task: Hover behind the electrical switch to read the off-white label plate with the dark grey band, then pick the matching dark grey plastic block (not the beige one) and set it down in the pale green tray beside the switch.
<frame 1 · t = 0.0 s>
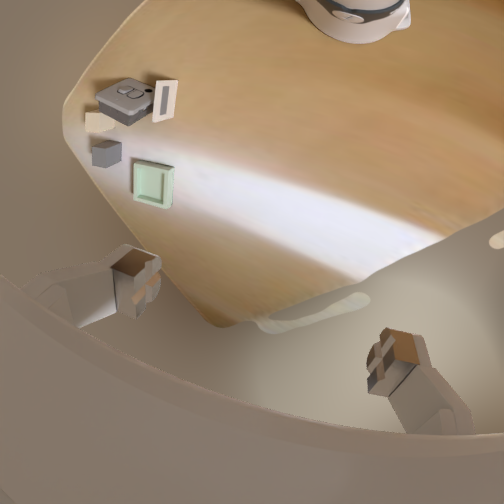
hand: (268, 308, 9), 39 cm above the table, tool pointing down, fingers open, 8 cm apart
grey part: (114, 150, 52), on the table
tray: (155, 182, 53), on the table
beige part: (108, 117, 48), on the table
label plate: (174, 98, 43), on the table
electrical switch: (144, 97, 44), on the table
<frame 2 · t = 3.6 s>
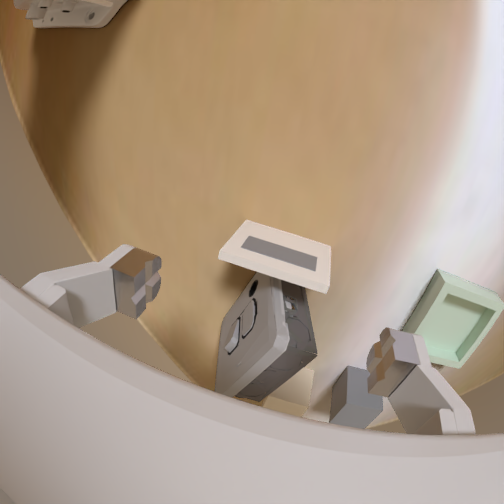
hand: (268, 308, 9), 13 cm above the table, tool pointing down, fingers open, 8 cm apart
grey part: (356, 380, 27), on the table
tray: (448, 317, 21), on the table
beige part: (291, 375, 29), on the table
label plate: (287, 236, 23), on the table
electrical switch: (271, 301, 26), on the table
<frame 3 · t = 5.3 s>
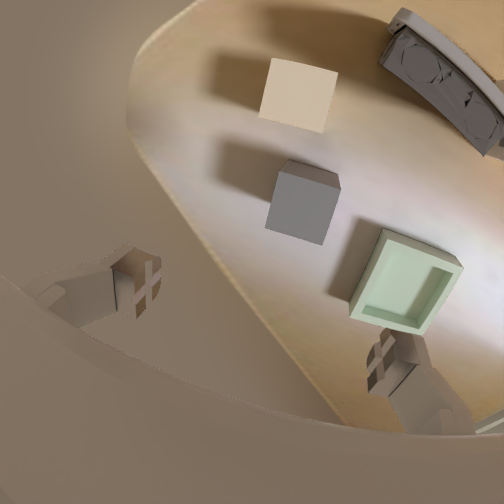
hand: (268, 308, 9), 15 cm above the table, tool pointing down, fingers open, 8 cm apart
grey part: (306, 190, 22), on the table
tray: (403, 280, 23), on the table
beige part: (304, 99, 19), on the table
label plate: (491, 117, 15), on the table
electrical switch: (425, 84, 16), on the table
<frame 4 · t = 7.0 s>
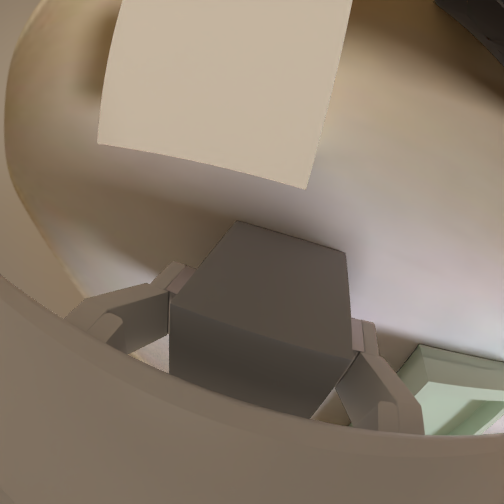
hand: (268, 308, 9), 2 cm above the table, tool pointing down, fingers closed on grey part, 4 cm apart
grey part: (277, 282, 11), on the table, touching gripper
tray: (433, 403, 12), on the table
beige part: (267, 79, 8), on the table
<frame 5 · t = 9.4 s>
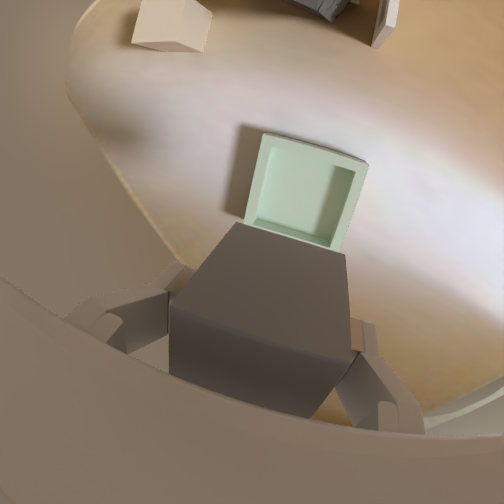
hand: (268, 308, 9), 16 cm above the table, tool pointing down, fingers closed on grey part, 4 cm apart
grey part: (276, 284, 11), point 14 cm above the table, touching gripper
tray: (304, 191, 23), on the table
beige part: (187, 32, 19), on the table
label plate: (381, 14, 14), on the table
when the fingers open (4 cm above the table, at t = 11.7 s): grey part drops 2 cm, resting on tray.
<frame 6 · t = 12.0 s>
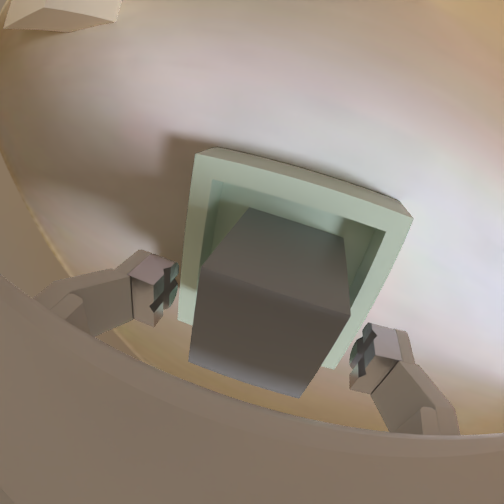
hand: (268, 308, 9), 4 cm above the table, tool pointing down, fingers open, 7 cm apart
grey part: (283, 263, 12), point 1 cm above the table, touching tray
tray: (285, 254, 13), on the table
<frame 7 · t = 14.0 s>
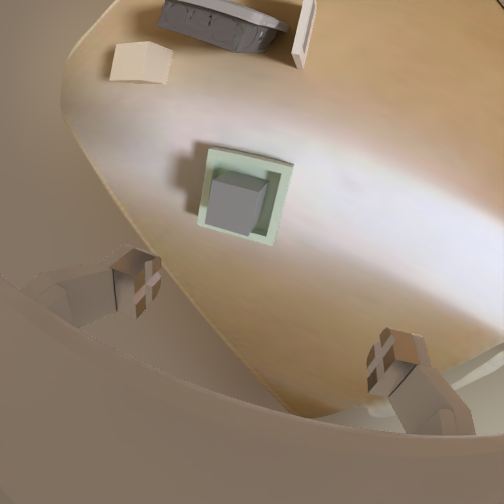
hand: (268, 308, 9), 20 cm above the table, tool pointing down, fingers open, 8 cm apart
grey part: (244, 194, 28), point 1 cm above the table, touching tray
tray: (246, 192, 29), on the table
beige part: (154, 67, 25), on the table
label plate: (307, 38, 21), on the table
electrical switch: (240, 31, 22), on the table
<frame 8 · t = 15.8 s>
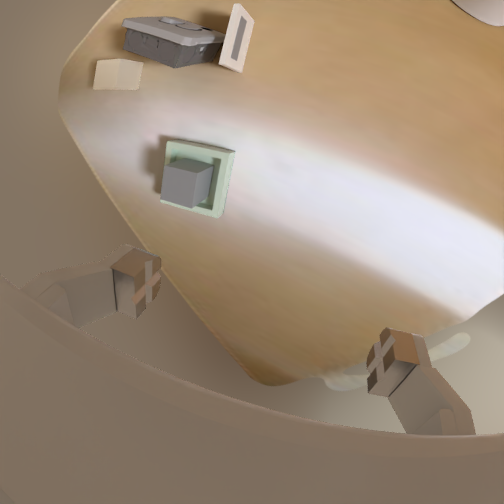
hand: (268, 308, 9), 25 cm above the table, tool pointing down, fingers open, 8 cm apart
grey part: (196, 176, 34), point 1 cm above the table, touching tray
tray: (199, 175, 35), on the table
beige part: (129, 76, 30), on the table
label plate: (245, 46, 26), on the table
electrical switch: (193, 44, 27), on the table
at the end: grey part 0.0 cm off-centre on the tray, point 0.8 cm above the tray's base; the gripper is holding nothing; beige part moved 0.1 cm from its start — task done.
